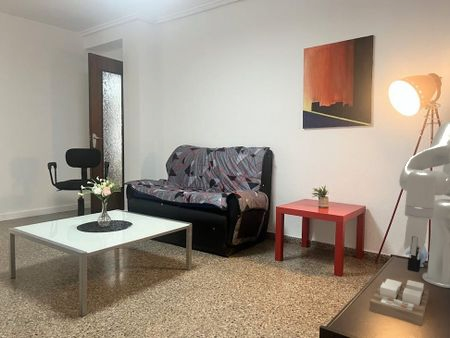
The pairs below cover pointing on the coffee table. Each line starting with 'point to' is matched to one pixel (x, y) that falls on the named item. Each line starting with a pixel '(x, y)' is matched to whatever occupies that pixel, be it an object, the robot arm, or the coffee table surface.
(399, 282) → the button
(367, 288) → the coffee table surface
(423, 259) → the toy figure
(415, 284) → the button
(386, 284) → the button
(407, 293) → the button
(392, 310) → the button board
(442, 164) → the robot arm
